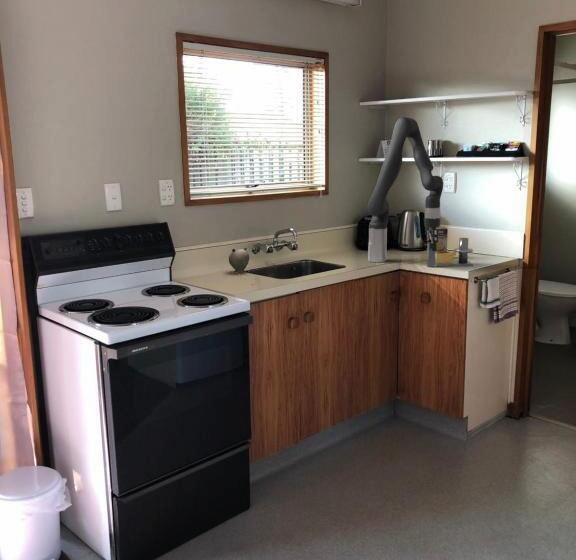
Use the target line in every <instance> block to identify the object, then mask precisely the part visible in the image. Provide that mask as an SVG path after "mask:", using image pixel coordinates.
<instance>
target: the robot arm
mask: <svg viewBox="0 0 576 560" xmlns="http://www.w3.org/2000/svg"><path fill="white" fill-rule="evenodd" d="M406 140H408V141H409V143H410V145H411V147H412V148H411V149H412V154H413V155H412V156H413V160H414V163H415V165H416V167H417V169H418V171H419V175H420V181H421V185H422V187H423V188H424V189H425V190H426V191H429V194H428V195H427V196H426V197H425V202H424V203H425V206H424V207H425V209H424V227H425V228H426V241H427V243H428V242H432V251H436V250H437V244H436V243H438V230H436V228H441V197H442V195H443V194H442V193H443V189H444V181H443V178H442V177H441V176H439V175H433V174H432V172H433V170H434V165H433V163H432V160H431V159H430V156H429V154H428V152H427V150H426V147H425V144H424V140H423V137H422V135H421V131H420V126H419V123H418V122H417V120H416V119H415V118H412V117H406V116H402V117H399V118H398V119H397V120H396V122H395V123H394V127H393V130H392V135H391V139H390V142H389V146H388V149H387V151H386V155H385V157H384V160H383V163H382V165H381V168H380V171H379V175H378V178H377V180H376V184H375V187H374V189H373V192H372V194H371V195H370V198H369V200H368V201H367V205H366V206H367V207H366V208H367V212H368V213H369V214H370V215H371V220H370V222H369V225H368V244H367V245H368V247H367V248H368V249H367V251H368V252H367V256H368V257H367V260H368V262H371V263H372V262H373V263H383V262H386V261H387V243H388V241H387V239H388V238H387V237H388V235H387V234H388V223H389V214H390V205H389V204H390V203H389V202H388V199H386V198H387V196H388V193H389V191H390V189H391V188H392V186H393V185H394V183H395V182H396V180H397V178H398V177H399V174H400V171H401V169H402V165H403V149H404V144H405V141H406Z"/></svg>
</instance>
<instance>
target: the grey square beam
mask: <svg viewBox="0 0 576 560" xmlns="http://www.w3.org/2000/svg"><path fill="white" fill-rule="evenodd" d="M426 247H427V248H426V251H427V254H426V267H428V268H435V267H436V265H435V251H432V242H428V241H427V245H426Z"/></svg>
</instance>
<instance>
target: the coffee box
mask: <svg viewBox="0 0 576 560" xmlns="http://www.w3.org/2000/svg"><path fill="white" fill-rule="evenodd" d="M436 230H438V243H436V244H437V250H436V251H448V249H447V248H448V228H446V227H436Z"/></svg>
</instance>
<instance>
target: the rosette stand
mask: <svg viewBox="0 0 576 560" xmlns="http://www.w3.org/2000/svg"><path fill="white" fill-rule="evenodd" d="M458 242H459V243H458V248H457V247H456V248H454V250H453V251H450V250H447V251H435V267H474V262H471V261H470V260H468V259H469V256H468V255H469V253H470V254H471V253H473V252H474V250H473V248H469V237H459V239H458ZM457 253H458V259H454V257H455V256H457Z"/></svg>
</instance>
